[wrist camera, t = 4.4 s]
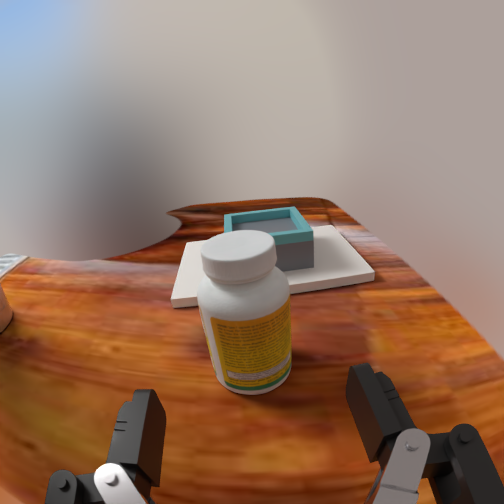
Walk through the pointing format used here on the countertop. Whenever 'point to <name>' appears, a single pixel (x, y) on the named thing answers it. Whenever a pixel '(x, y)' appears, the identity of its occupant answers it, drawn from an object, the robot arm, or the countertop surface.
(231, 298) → the supplement bottle
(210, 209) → the countertop surface
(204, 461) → the countertop surface
